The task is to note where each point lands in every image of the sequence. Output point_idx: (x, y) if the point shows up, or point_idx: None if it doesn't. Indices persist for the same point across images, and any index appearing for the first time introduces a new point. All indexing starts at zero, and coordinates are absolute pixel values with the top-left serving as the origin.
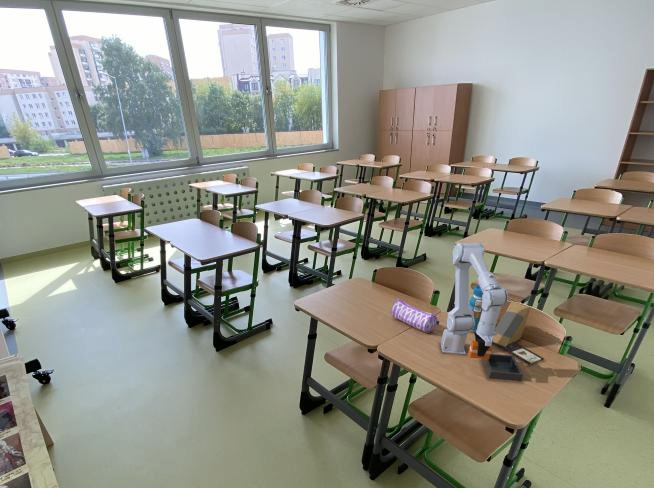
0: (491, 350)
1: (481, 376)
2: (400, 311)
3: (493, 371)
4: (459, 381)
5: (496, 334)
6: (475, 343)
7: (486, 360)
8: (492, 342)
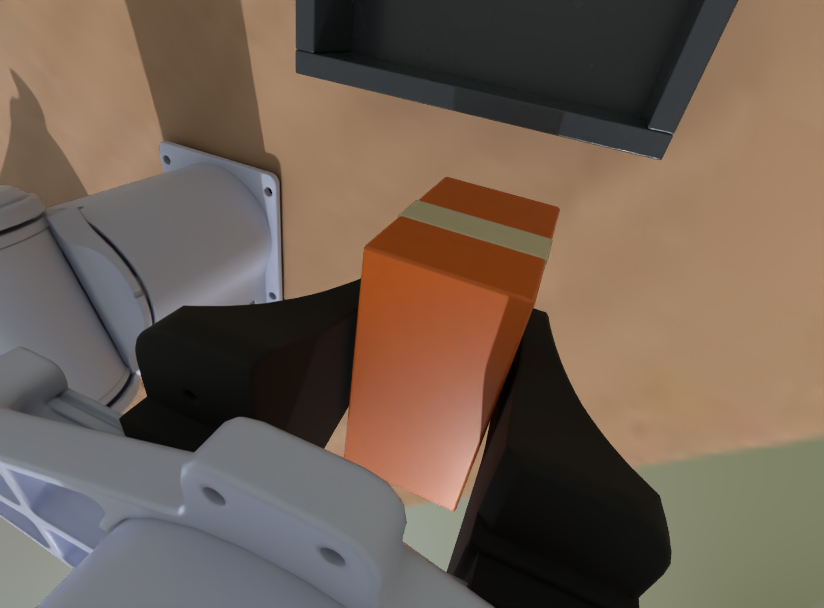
0: (542, 266)
1: (587, 186)
2: None
3: (666, 125)
4: (615, 377)
5: (383, 525)
6: (405, 464)
7: (430, 104)
8: (617, 529)
